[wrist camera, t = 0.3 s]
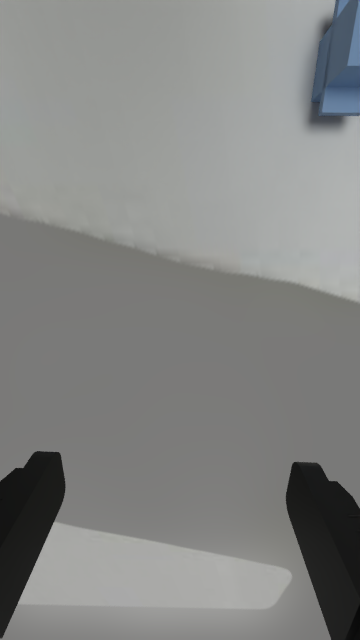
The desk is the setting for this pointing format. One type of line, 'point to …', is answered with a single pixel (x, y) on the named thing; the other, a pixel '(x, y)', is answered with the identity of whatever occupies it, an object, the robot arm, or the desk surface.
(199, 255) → the desk surface
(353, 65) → the block
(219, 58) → the desk surface
